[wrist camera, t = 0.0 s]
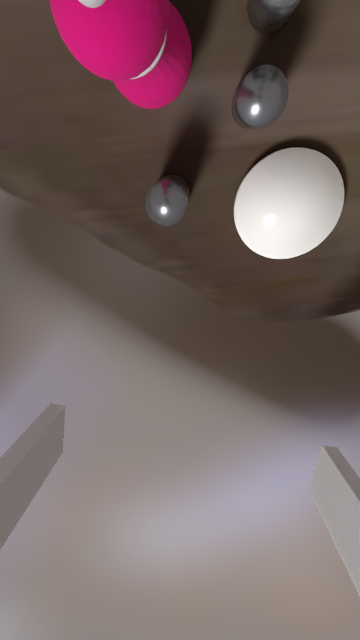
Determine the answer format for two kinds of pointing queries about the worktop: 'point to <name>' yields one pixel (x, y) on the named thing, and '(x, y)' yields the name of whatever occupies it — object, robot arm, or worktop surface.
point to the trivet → (288, 202)
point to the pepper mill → (129, 45)
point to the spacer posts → (234, 109)
